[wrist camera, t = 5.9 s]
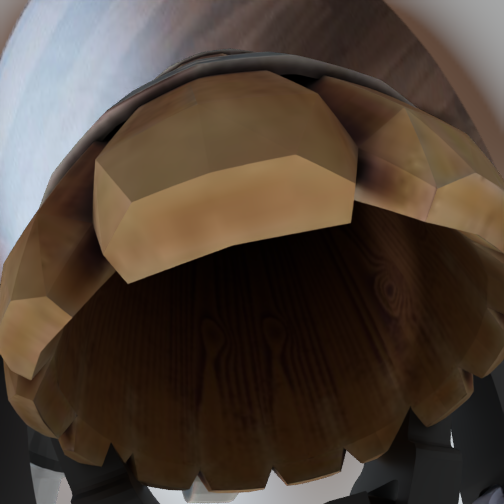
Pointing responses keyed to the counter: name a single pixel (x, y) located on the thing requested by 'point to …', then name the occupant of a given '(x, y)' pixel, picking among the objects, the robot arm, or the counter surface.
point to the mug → (254, 277)
